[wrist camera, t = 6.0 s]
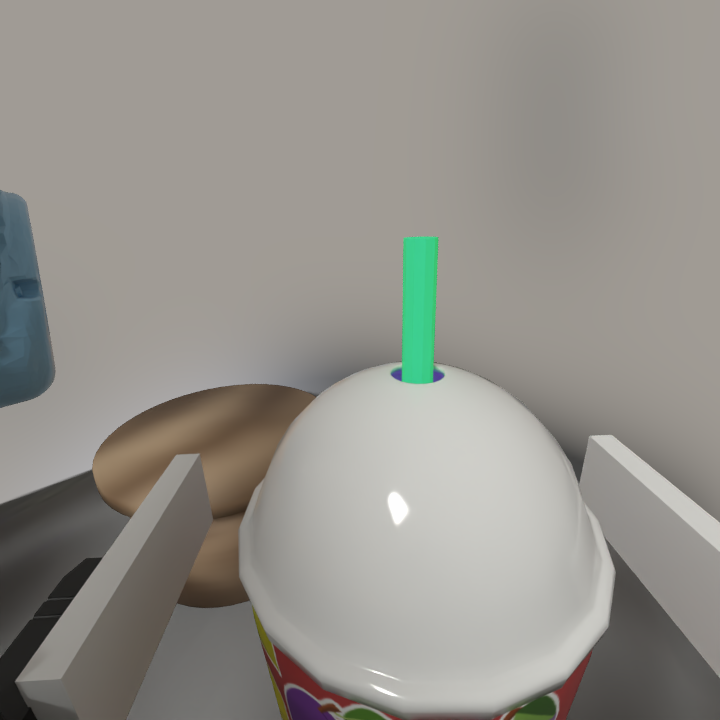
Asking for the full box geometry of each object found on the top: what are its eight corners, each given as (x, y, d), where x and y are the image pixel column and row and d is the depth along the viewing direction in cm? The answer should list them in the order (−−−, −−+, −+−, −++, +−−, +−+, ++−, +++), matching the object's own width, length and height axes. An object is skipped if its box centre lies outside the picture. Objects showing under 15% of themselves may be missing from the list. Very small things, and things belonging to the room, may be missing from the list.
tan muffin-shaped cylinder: (72, 587, 23) (28, 477, 20) (219, 456, 36) (204, 376, 33) (278, 660, 19) (259, 533, 16) (363, 483, 31) (360, 394, 29)
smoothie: (447, 651, 19) (479, 227, 12) (590, 925, 12) (881, 235, 5) (278, 718, 17) (198, 238, 10) (321, 1116, 9) (113, 292, 2)
